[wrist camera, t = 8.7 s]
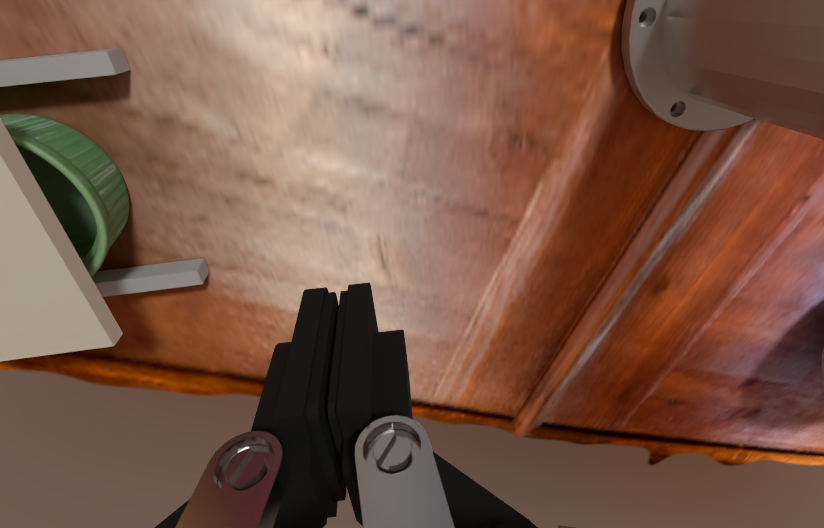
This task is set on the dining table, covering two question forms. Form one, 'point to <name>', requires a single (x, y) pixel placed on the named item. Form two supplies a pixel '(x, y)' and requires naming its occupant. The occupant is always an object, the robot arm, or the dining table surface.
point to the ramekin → (74, 183)
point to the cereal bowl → (822, 364)
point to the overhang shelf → (59, 243)
